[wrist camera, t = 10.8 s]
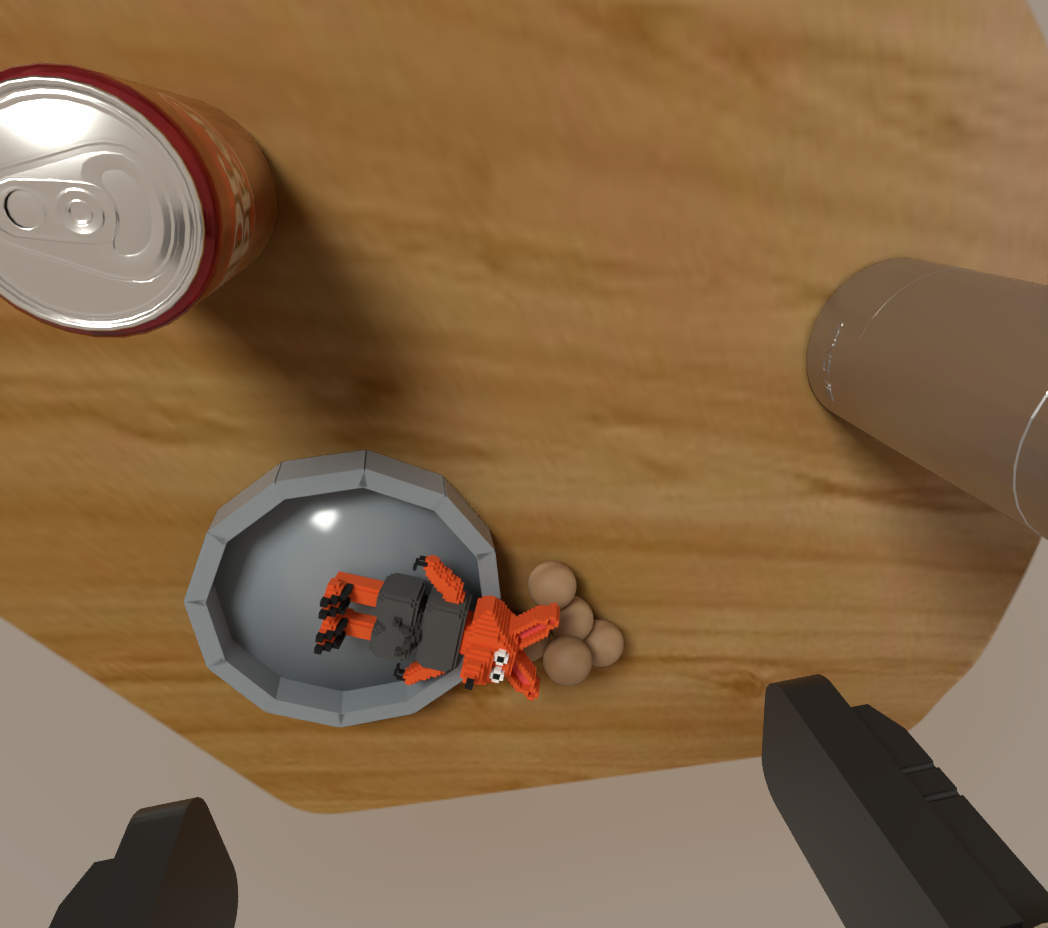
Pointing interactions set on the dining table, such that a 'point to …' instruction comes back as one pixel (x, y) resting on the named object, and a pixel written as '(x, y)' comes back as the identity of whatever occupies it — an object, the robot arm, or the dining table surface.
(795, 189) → the dining table surface
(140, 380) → the dining table surface
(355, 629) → the toy animal
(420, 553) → the dish
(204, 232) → the soda can
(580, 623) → the bead pile
